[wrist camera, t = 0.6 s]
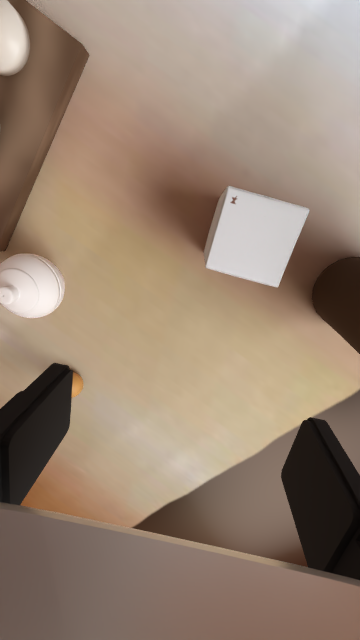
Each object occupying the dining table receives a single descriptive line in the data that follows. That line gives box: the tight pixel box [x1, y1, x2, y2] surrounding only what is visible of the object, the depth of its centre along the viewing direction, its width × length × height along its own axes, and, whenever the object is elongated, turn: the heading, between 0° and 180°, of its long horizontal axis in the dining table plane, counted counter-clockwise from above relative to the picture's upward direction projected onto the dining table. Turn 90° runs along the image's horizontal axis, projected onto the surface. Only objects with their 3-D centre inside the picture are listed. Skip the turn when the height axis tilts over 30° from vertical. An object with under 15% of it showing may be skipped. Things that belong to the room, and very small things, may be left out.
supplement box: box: [204, 186, 309, 287], centre depth 30 cm, size 7×7×13 cm
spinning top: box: [0, 253, 65, 318], centre depth 34 cm, size 8×8×12 cm
